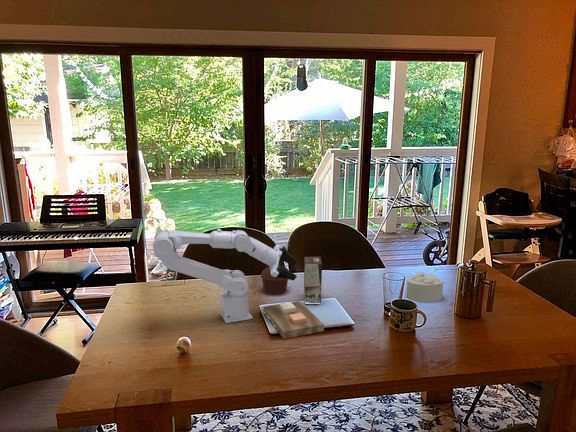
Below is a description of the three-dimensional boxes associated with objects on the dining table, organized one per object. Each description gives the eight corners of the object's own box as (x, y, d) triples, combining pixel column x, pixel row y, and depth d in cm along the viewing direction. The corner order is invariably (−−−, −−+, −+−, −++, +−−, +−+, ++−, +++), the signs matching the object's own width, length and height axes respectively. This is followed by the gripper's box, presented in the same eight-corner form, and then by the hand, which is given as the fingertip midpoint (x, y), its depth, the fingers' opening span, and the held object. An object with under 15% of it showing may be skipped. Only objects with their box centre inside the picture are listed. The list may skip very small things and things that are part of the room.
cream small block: (283, 316, 155) (283, 309, 154) (279, 310, 159) (279, 304, 158) (295, 314, 156) (295, 307, 156) (291, 308, 160) (291, 302, 160)
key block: (283, 339, 142) (283, 331, 142) (263, 313, 160) (263, 306, 160) (323, 331, 147) (323, 324, 147) (299, 307, 165) (299, 300, 165)
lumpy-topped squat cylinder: (444, 301, 171) (446, 279, 169) (412, 303, 168) (414, 282, 166) (431, 290, 181) (433, 270, 179) (401, 292, 178) (402, 272, 176)
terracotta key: (293, 327, 147) (293, 320, 146) (288, 321, 151) (288, 314, 150) (306, 325, 148) (306, 318, 148) (300, 319, 152) (301, 312, 152)
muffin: (256, 294, 177) (256, 270, 175) (266, 284, 187) (265, 261, 185) (285, 297, 174) (285, 273, 171) (293, 287, 184) (293, 264, 182)
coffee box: (321, 305, 167) (322, 264, 163) (304, 305, 167) (304, 263, 163) (320, 295, 176) (321, 256, 172) (303, 295, 176) (304, 256, 172)
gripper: (267, 260, 147) (301, 278, 151) (271, 232, 159) (302, 250, 163) (256, 272, 150) (289, 290, 155) (260, 245, 162) (291, 262, 166)
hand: (295, 270), depth 159 cm, fingers open, 7 cm apart
